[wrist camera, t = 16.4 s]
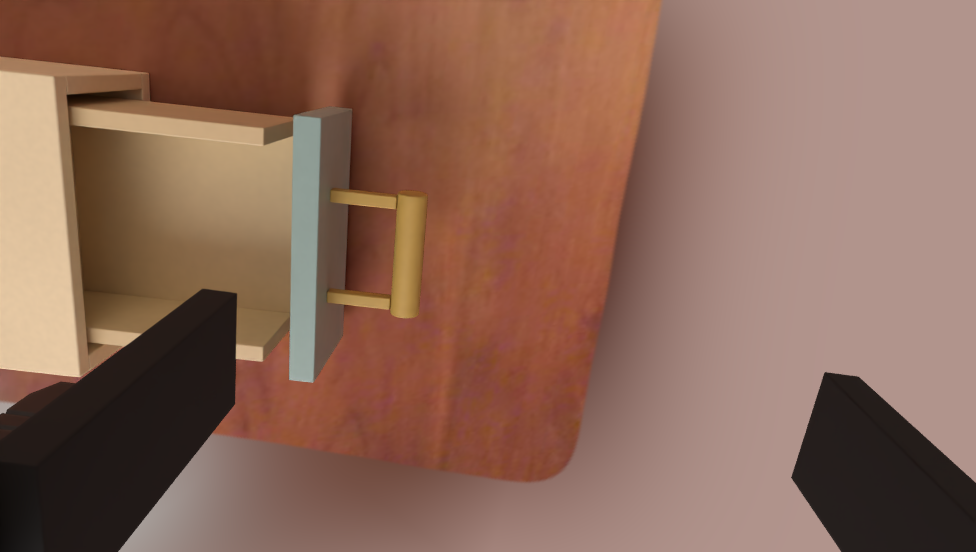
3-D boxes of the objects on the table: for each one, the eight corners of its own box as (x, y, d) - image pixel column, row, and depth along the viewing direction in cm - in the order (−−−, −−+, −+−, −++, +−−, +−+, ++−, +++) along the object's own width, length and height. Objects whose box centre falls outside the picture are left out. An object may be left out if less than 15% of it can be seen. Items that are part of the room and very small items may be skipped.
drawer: (441, 118, 34) (427, 129, 28) (423, 344, 38) (407, 393, 32) (66, 77, 34) (-21, 80, 28) (85, 307, 38) (11, 349, 32)
